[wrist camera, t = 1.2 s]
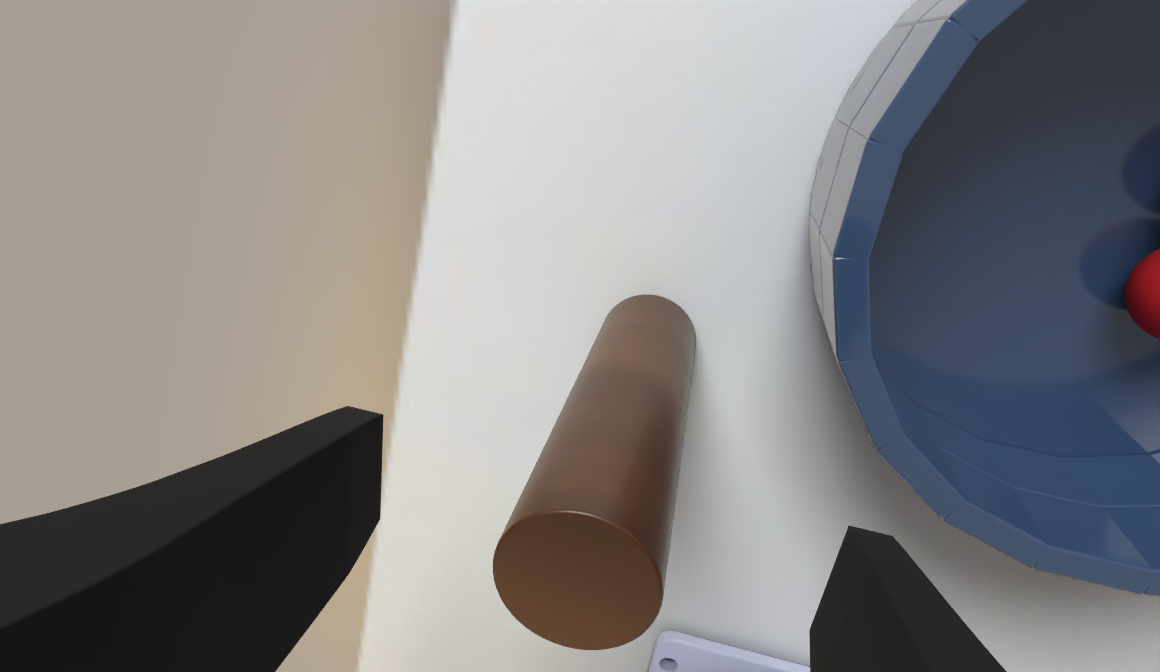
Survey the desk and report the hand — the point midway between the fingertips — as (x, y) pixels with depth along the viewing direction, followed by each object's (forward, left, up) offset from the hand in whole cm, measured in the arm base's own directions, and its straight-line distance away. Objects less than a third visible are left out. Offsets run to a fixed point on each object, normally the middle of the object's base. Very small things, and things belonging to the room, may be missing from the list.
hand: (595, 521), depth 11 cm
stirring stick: (0, 0, -8) cm, 8 cm away
